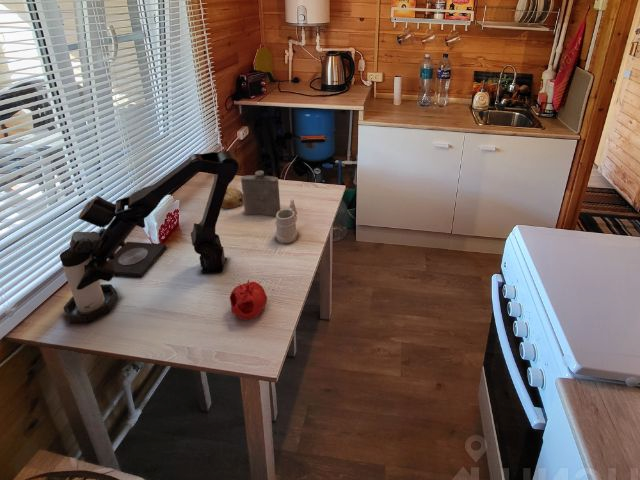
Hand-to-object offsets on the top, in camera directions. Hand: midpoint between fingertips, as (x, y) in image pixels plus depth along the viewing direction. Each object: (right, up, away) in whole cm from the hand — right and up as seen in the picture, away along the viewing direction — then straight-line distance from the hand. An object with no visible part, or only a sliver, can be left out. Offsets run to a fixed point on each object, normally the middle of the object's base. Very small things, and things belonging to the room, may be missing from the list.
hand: (78, 281), depth 102 cm
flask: (+38, +8, +48) cm, 62 cm away
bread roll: (+22, +10, +55) cm, 60 cm away
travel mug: (+1, -9, +4) cm, 10 cm away
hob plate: (+2, -2, +22) cm, 22 cm away
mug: (+50, +3, +36) cm, 62 cm away
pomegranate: (+45, -9, +4) cm, 46 cm away
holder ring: (+1, -9, +4) cm, 10 cm away
